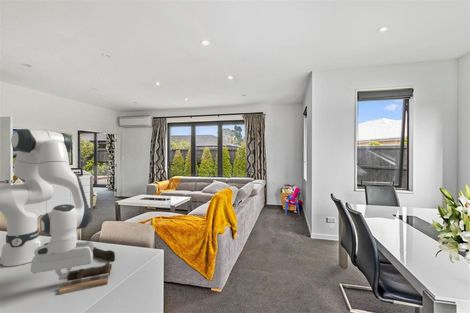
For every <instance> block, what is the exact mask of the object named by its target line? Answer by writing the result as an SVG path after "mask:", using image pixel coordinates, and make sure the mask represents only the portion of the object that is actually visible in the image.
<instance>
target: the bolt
mask: <svg viewBox="0 0 470 313" xmlns="http://www.w3.org/2000/svg"><path fill="white" fill-rule="evenodd" d="M110 264H111V263H110V261H108V262H105V264H104V265H105V266H103V267H100V268H94V269H91V270H84V268H79V269H80V270H79V271H78V272H77V273H72V274H70V275H68V276H67V277H68V278H66V281H70V280H75V279H81V278H86V277H91V276H96V275H102V274H107V273H109V276H110V274H111V270H110Z"/></svg>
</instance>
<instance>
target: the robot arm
mask: <svg viewBox="0 0 470 313" xmlns="http://www.w3.org/2000/svg"><path fill="white" fill-rule="evenodd" d="M11 135H12V136H11V138H10V142H11V146H12V148H13V149H14V150H15V151H17V152H16V156H15V160H14V165H13V170H12V172H13V173H12V174H13V175H14V176H15V177H17V178H18V179H21V180H23V181H24V183H19V184H18V183H17V184H9V185H8V184H7V185H2V186H0V213H1V214H2V215H3V216H4V218H5V220H6V221H5V222H6V233H7V234H6V235H5V244H4V245H2V247H1V254H0V265H1V264H2V265H4V266H3V267H15V266H20V265H24V264H29V263H31V264H30V272H31V273H32V274H38V273H44V272H50V271H55V272H54V273H55V274H56V275H57V276H58V280H60V281H61V280H65V279H66V280H67V278H69V277H67V276H68V275H69V271H72V270H71V269H72V268H75V267H81V266H86V265H90V264H91V263H92V262H93V260H94V255H93V249H94V247H95V246H94V243H93V242H91V241H84V242H83V241H82V242H78V233H77V230H80V229H81V230H82V229H85V228H87V227H88V226H89V225H91V222H92V221H93V215H92V211H91V209H90V206H89V203H88V201H87V197H86V194H85V190H84V188H83V184H82V180H81V178H80V176H79V174H77V173H75V172H73V170H72V168H71V165H70V159H69V153H68V152H69V151H70V150H71V148H72V145H73V144H72V137H71V136H70V135H69V134H66V133H63V132H56V131H52V130H46V129H44V130H42V129H41V130H40V129H28V128H21V129H16V130H15V131H13V133H12V134H11ZM52 184H53V185H57V186H61V187H64V188H66V189H69V191H70V192H71V194H72V199H73V202H74V205H72V204H68V203H67V204H66V203H65V204H58V205H55V206H54V207H52V210H51V211H49V212H46V213H44V215H42V216H41V218H40V220H39V221H40V223H39V224H40V227H39V228H38V215H37V214H36V213H34V212H31V211H28V210H25V206H27V205H33V204H40V203H43V202H46V201H50V200H51V199H52V198H53V196H54V193H55V189H54V186H52ZM40 232H42V233H43V234H45V235H51V237H50V240H49V241H48V242H46V243H45V240H44V239H43V238H42V236H40ZM63 269H65V270H66V272H63V273H62V271H61V270H63Z"/></svg>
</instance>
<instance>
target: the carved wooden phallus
mask: <svg viewBox="0 0 470 313" xmlns="http://www.w3.org/2000/svg"><path fill="white" fill-rule="evenodd" d="M115 254H116V253H115V251H114V250H103V249H100V248H97V247H95V246H94V249H93V257H94V256H95V257H99V258H101V259H104V260H105V261H107V260H108V262H114V261H115V260H116V255H115Z"/></svg>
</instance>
